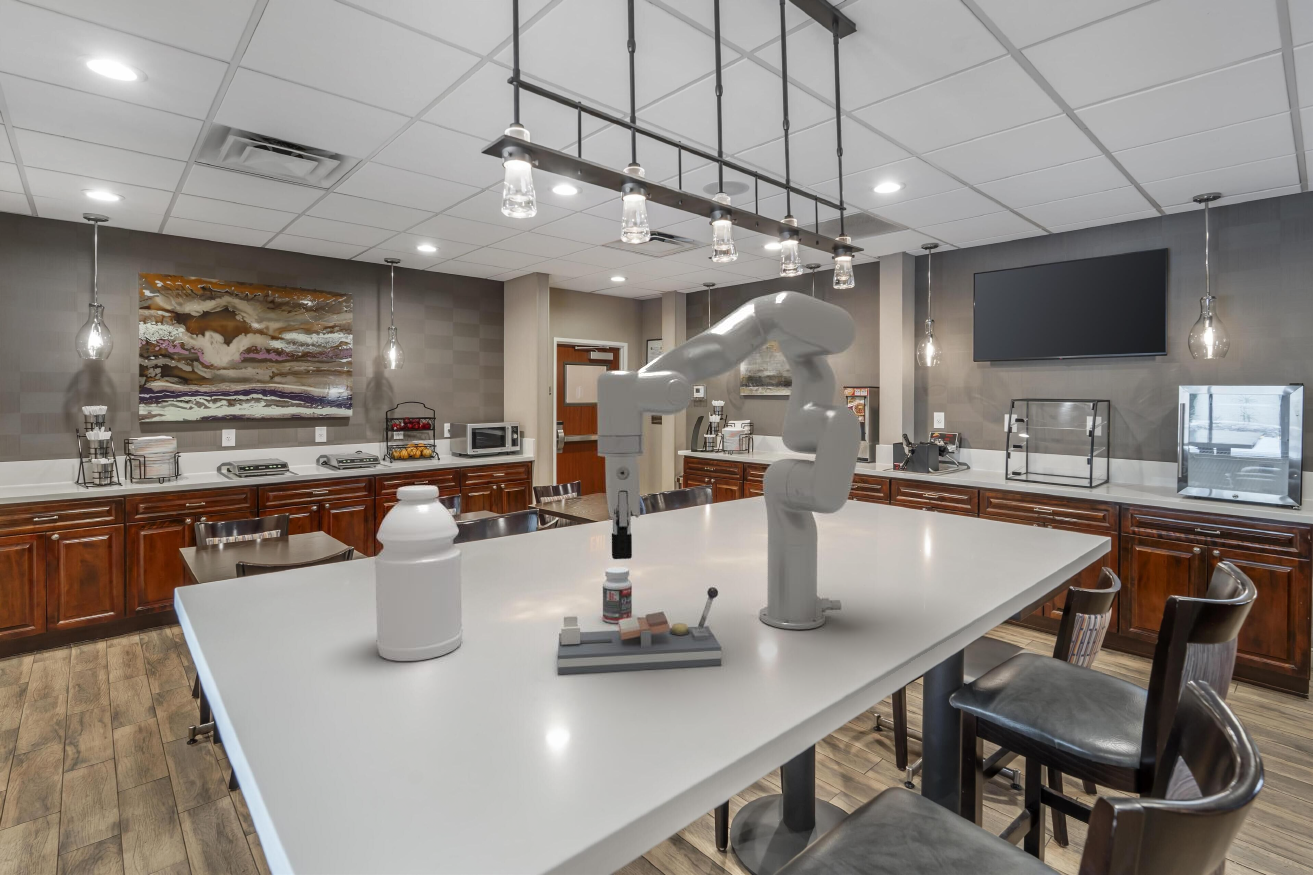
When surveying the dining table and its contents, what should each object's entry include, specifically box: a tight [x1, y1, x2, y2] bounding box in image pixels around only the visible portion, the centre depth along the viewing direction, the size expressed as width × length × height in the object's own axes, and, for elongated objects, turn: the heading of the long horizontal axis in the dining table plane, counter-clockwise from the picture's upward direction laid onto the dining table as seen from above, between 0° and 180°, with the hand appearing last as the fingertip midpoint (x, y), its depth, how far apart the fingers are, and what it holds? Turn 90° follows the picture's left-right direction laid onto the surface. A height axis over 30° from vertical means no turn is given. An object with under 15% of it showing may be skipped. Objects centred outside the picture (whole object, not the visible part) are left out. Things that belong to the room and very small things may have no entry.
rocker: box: [617, 611, 671, 640], centre depth 104 cm, size 8×5×2 cm, turn 97°
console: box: [557, 616, 722, 676], centre depth 104 cm, size 26×10×6 cm, turn 98°
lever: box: [697, 586, 719, 629], centre depth 106 cm, size 2×2×7 cm
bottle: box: [374, 484, 463, 662], centre depth 109 cm, size 14×14×28 cm
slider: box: [560, 614, 581, 645], centre depth 103 cm, size 3×2×4 cm
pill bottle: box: [602, 566, 633, 624], centre depth 124 cm, size 6×6×10 cm
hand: (621, 557), depth 103 cm, fingers closed
